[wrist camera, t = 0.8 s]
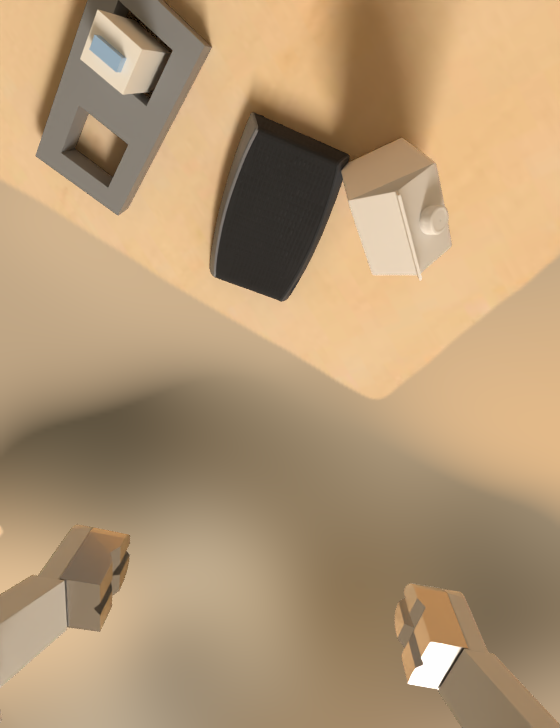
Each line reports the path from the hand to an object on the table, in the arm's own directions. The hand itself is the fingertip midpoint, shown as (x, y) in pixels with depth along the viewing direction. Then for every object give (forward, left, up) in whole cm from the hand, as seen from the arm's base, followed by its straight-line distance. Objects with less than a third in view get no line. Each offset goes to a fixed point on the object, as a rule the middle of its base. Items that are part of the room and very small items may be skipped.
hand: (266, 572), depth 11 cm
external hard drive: (+5, -1, -44) cm, 44 cm away
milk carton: (-6, +6, -44) cm, 44 cm away
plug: (+1, -21, -43) cm, 48 cm away
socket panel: (+6, -21, -43) cm, 49 cm away
